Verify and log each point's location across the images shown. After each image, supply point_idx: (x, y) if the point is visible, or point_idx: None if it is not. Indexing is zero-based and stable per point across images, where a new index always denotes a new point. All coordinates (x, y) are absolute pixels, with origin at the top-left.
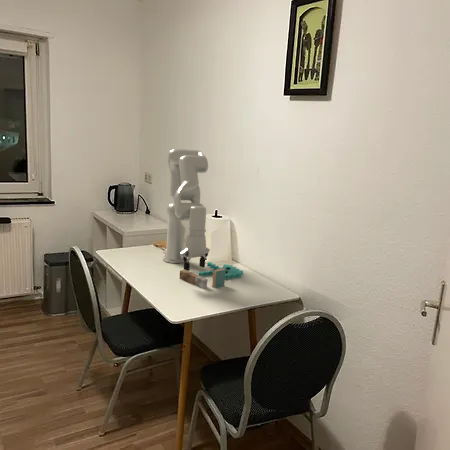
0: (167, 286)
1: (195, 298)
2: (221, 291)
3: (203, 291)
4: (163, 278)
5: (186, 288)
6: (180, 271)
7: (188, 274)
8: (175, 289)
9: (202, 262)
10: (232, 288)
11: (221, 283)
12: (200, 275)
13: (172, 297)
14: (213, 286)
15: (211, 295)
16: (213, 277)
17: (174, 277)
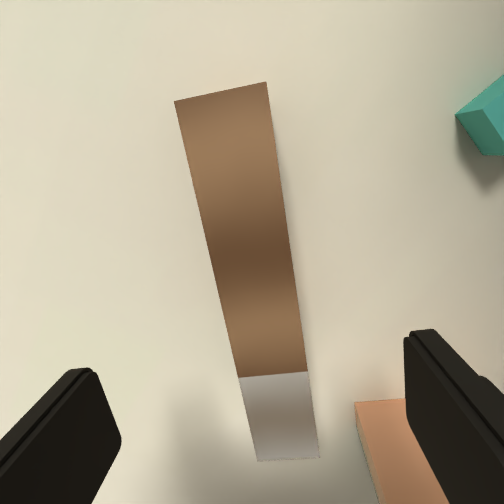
0: (20, 263)
1: (131, 490)
2: (350, 482)
3: (236, 438)
4: (37, 38)
5: (149, 354)
6: (179, 116)
7: (215, 275)
8: (63, 339)
9: (452, 473)
10: None
11: None
12: (473, 131)
13: (4, 432)
14: (356, 418)
15: (245, 498)
16: (381, 489)
17: (167, 53)
